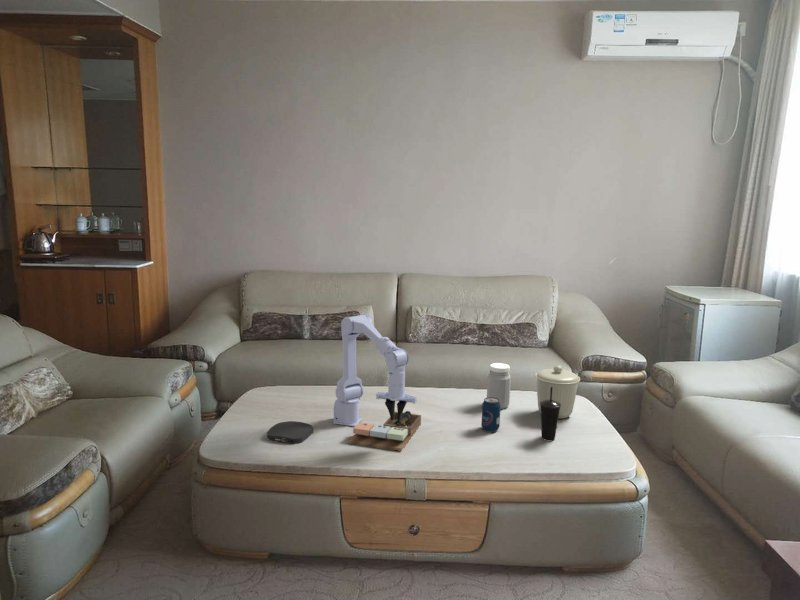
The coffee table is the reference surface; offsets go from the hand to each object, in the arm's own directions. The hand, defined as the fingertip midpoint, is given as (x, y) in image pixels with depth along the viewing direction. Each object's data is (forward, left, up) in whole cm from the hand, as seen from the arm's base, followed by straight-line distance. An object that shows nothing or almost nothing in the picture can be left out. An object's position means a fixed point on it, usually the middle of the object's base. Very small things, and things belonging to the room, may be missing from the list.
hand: (395, 419), depth 214 cm
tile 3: (0, +2, -6) cm, 6 cm away
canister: (+53, +52, -10) cm, 75 cm away
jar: (+29, +54, -10) cm, 62 cm away
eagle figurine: (-2, +16, -10) cm, 19 cm away
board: (-7, +9, -10) cm, 15 cm away
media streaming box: (-40, -4, -10) cm, 42 cm away
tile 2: (-7, +2, -6) cm, 9 cm away
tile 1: (-13, +2, -6) cm, 14 cm away
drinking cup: (+52, +26, -10) cm, 59 cm away
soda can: (+30, +27, -10) cm, 42 cm away
